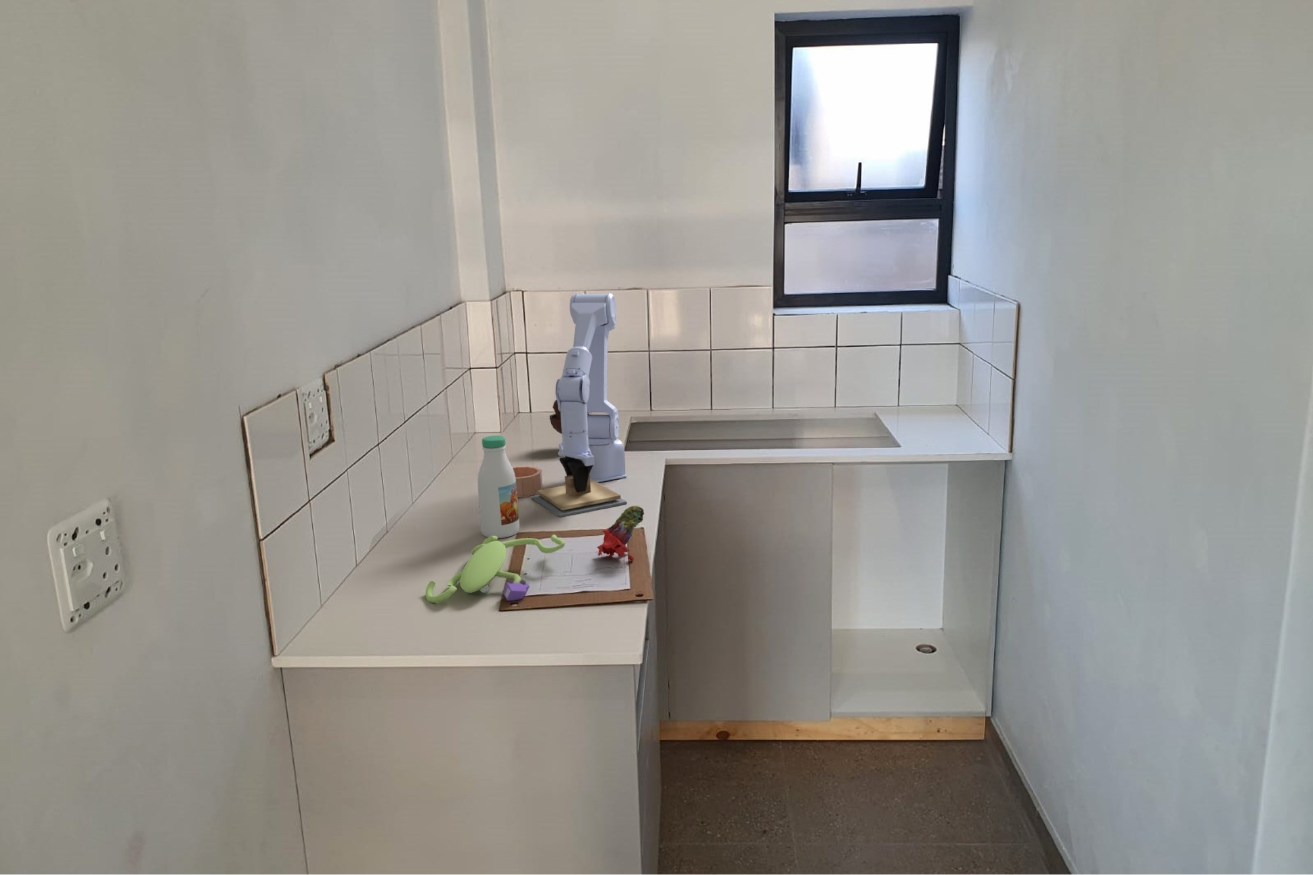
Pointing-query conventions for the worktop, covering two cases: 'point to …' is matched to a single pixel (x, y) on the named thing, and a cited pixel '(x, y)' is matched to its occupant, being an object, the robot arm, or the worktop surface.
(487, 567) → the figurine
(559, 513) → the shallow square tray
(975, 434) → the worktop surface
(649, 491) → the worktop surface
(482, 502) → the milk bottle
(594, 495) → the cover board
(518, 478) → the terracotta bowl
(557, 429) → the ice cream bowl
